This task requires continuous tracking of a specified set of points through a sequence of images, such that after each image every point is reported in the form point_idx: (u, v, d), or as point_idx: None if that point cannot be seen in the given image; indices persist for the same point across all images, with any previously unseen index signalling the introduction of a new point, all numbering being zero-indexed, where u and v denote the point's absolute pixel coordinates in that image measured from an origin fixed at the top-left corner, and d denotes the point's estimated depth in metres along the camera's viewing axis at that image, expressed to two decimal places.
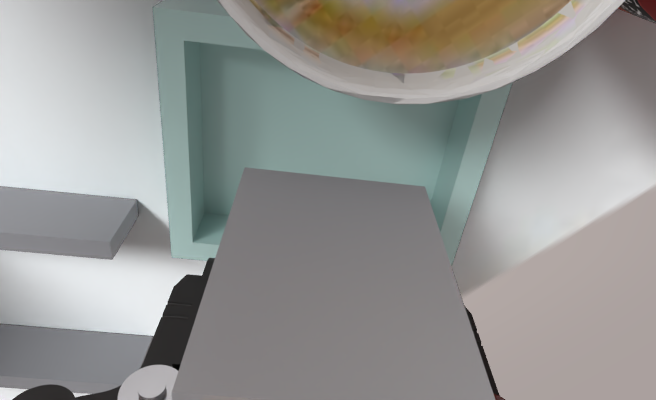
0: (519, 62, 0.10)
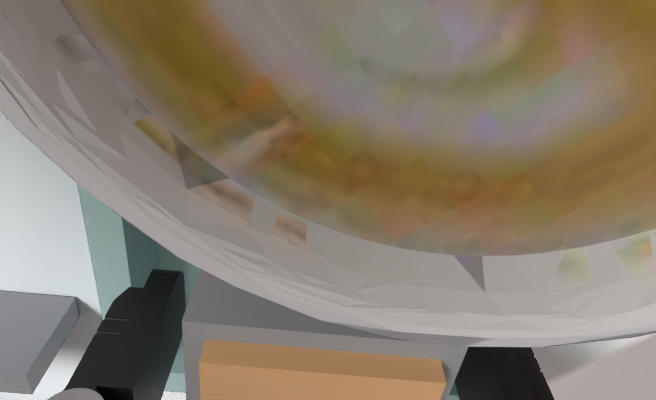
0: None
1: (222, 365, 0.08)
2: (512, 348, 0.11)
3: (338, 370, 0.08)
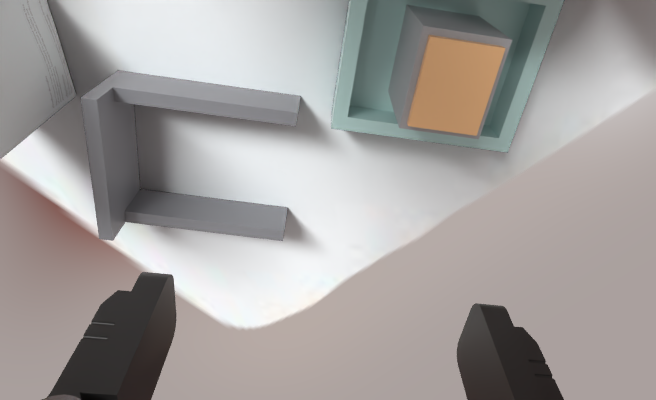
0: None
1: (436, 38, 0.26)
2: (524, 355, 0.11)
3: (471, 43, 0.26)
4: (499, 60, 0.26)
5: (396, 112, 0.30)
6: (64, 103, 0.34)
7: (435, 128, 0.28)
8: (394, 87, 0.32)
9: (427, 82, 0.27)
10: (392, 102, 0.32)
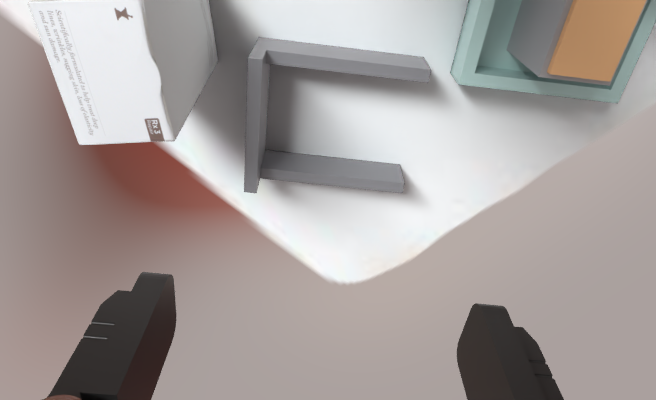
0: None
1: None
2: (524, 354, 0.11)
3: None
4: (640, 10, 0.29)
5: (530, 64, 0.34)
6: (213, 67, 0.38)
7: (573, 75, 0.32)
8: (520, 44, 0.36)
9: (572, 32, 0.30)
10: (519, 57, 0.36)
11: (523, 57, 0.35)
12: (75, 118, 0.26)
